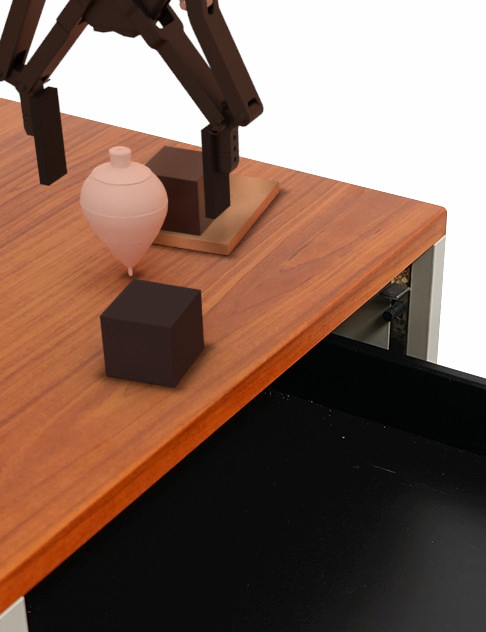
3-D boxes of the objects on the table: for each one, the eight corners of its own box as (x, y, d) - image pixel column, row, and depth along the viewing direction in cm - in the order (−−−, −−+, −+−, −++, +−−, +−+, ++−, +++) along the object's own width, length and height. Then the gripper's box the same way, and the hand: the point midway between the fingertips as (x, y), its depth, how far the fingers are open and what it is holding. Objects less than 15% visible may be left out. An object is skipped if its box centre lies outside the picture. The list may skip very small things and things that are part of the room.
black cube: (105, 375, 115) (99, 315, 111) (138, 336, 120) (133, 278, 117) (174, 387, 114) (170, 327, 110) (204, 347, 119) (201, 289, 116)
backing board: (110, 236, 135) (103, 170, 130) (170, 175, 147) (166, 112, 143) (228, 255, 133) (225, 188, 129) (279, 192, 145) (278, 129, 141)
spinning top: (111, 251, 132) (99, 127, 125) (186, 266, 131) (178, 141, 123) (73, 285, 126) (58, 157, 119) (150, 301, 125) (140, 172, 118)
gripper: (307, -101, 91) (308, 206, 104) (-28, -152, 96) (14, 148, 109) (260, -76, 85) (268, 246, 99) (-94, -131, 90) (-41, 183, 104)
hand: (135, 195), depth 104 cm, fingers open, 13 cm apart
